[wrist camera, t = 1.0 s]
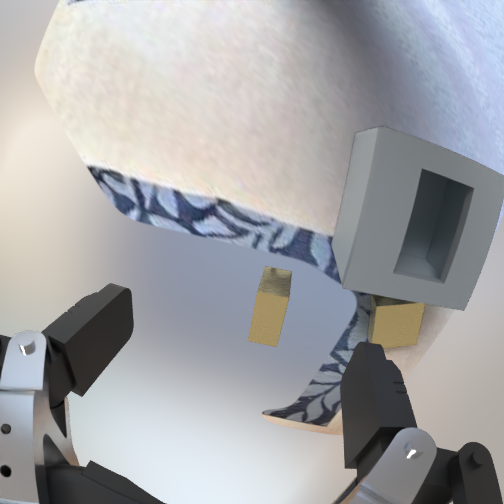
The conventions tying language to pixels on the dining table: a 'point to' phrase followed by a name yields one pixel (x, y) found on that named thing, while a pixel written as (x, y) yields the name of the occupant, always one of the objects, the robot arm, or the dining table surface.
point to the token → (394, 321)
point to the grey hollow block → (415, 219)
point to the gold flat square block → (270, 306)
